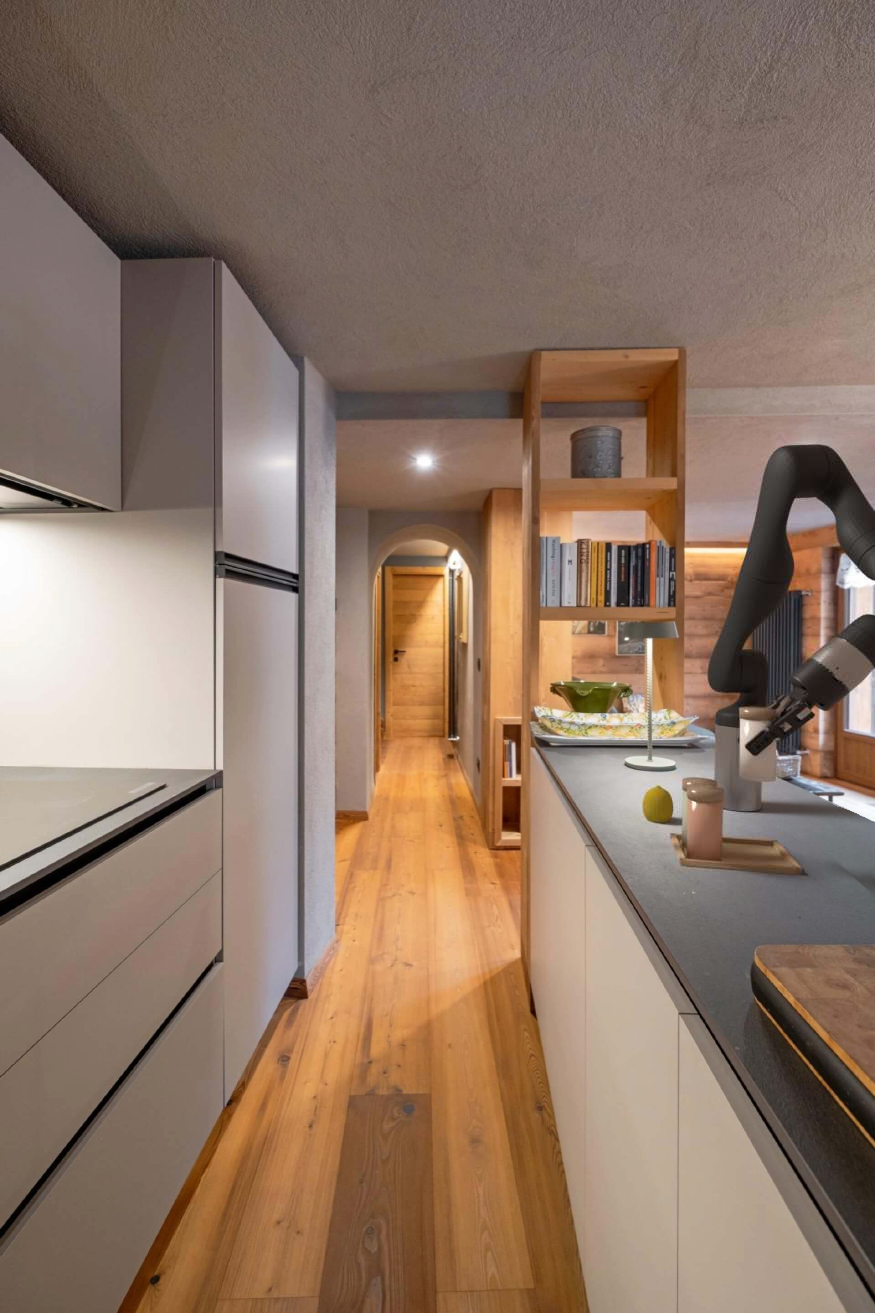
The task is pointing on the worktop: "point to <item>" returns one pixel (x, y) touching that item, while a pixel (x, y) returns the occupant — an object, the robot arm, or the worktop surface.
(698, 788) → the terracotta jar
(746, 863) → the tray
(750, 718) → the white jar
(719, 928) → the worktop surface
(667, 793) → the lemon
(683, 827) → the sage jar
